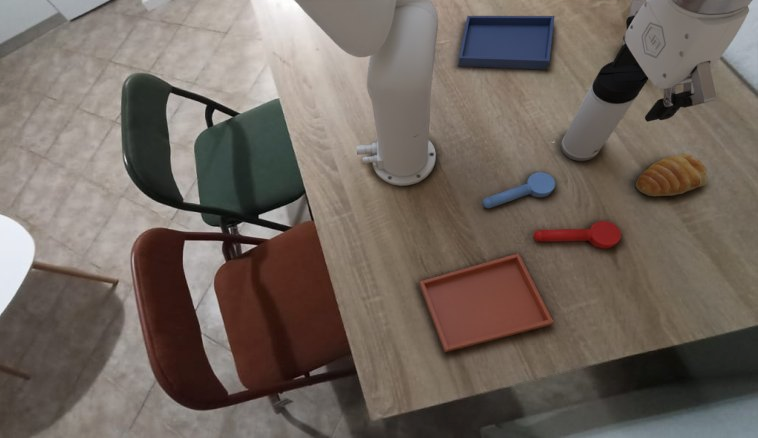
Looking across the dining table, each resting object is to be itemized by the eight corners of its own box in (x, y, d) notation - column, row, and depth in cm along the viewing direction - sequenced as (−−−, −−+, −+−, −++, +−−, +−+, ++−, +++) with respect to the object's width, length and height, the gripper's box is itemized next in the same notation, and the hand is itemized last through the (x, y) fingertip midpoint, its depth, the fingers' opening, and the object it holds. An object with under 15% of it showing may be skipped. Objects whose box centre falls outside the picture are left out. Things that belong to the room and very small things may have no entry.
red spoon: (534, 249, 77) (536, 245, 75) (530, 226, 79) (533, 222, 77) (620, 248, 73) (625, 244, 72) (614, 224, 75) (618, 219, 73)
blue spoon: (487, 216, 81) (489, 212, 79) (476, 197, 83) (478, 192, 82) (557, 192, 80) (560, 187, 78) (544, 173, 82) (547, 167, 80)
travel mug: (602, 162, 80) (655, 89, 62) (560, 161, 82) (601, 90, 64) (599, 133, 82) (650, 55, 65) (559, 132, 84) (598, 57, 67)
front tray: (444, 352, 74) (445, 350, 72) (419, 284, 79) (419, 281, 77) (549, 325, 71) (553, 322, 69) (515, 257, 77) (518, 252, 75)
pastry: (650, 208, 75) (661, 197, 71) (623, 177, 78) (633, 166, 74) (706, 186, 74) (719, 174, 70) (676, 156, 77) (688, 143, 74)
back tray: (457, 66, 96) (458, 57, 94) (466, 24, 100) (467, 15, 98) (546, 69, 90) (549, 60, 88) (551, 25, 94) (554, 15, 92)
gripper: (636, -58, 50) (584, 52, 65) (721, 51, 43) (640, 147, 58) (710, -80, 49) (639, 38, 64) (812, 28, 41) (704, 133, 56)
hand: (640, 89), depth 61 cm, fingers open, 9 cm apart
